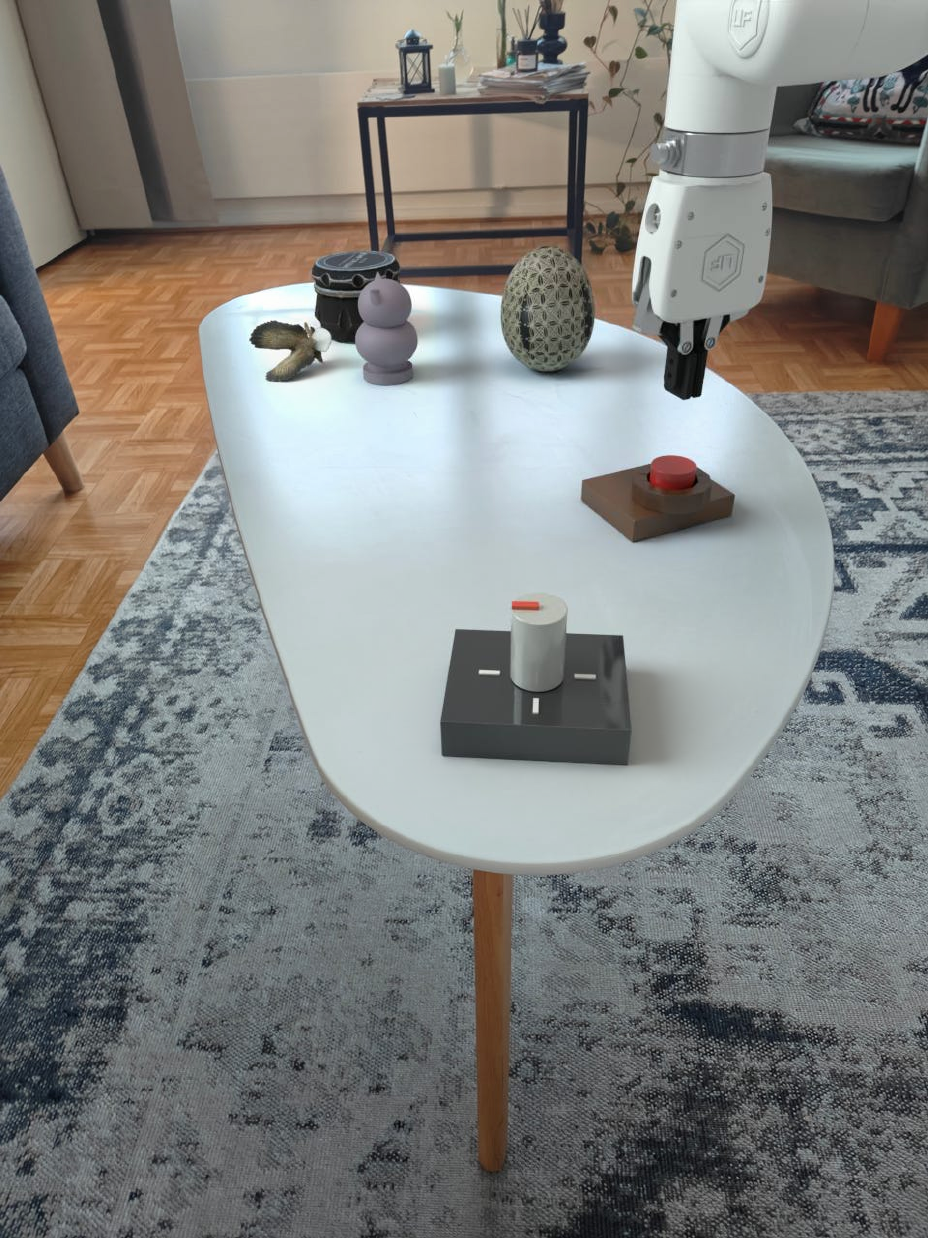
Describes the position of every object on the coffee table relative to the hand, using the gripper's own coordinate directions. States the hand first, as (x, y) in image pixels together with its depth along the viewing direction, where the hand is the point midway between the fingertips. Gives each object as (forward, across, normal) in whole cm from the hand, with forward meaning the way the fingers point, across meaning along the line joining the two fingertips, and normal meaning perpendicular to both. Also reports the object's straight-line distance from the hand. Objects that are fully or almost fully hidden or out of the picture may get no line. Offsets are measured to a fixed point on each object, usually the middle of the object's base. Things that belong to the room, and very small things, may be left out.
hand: (681, 392), depth 77 cm
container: (+13, -7, +65) cm, 67 cm away
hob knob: (+9, -24, -19) cm, 32 cm away
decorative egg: (+12, +9, +39) cm, 42 cm away
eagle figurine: (+12, -20, +54) cm, 59 cm away
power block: (+12, 0, +2) cm, 12 cm away
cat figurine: (+12, -10, +46) cm, 49 cm away
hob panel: (+12, -24, -19) cm, 33 cm away
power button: (+8, 0, 0) cm, 8 cm away
